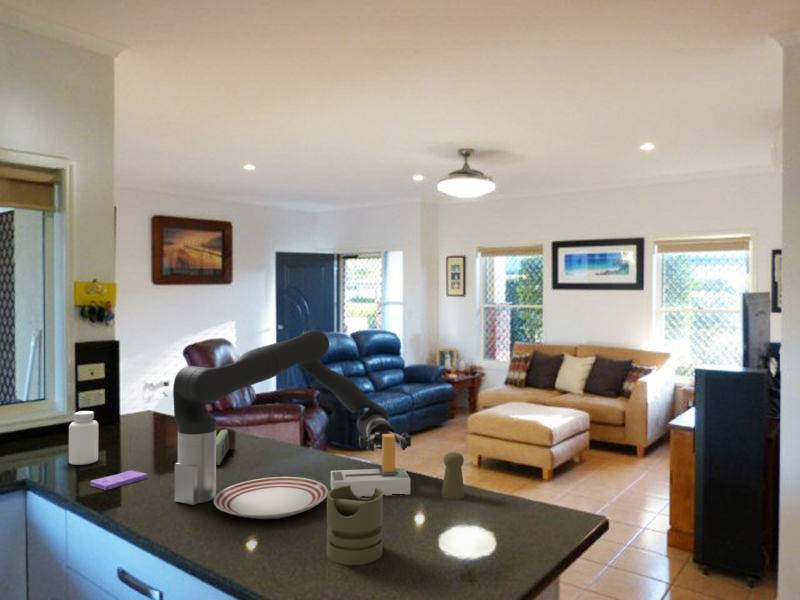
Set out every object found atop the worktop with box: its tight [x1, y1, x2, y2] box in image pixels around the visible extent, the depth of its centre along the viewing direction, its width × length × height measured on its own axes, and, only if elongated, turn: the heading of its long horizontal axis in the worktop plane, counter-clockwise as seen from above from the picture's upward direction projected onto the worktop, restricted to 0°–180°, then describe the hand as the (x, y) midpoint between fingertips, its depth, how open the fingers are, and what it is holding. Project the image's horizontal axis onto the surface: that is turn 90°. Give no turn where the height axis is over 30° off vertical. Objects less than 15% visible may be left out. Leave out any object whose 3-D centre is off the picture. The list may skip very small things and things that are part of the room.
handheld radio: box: [216, 429, 230, 466], centre depth 191 cm, size 7×3×25 cm
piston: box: [326, 485, 384, 566], centre depth 125 cm, size 11×12×11 cm
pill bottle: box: [68, 410, 99, 466], centre depth 186 cm, size 8×8×15 cm
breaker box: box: [330, 467, 411, 498], centre depth 163 cm, size 20×10×4 cm, turn 100°
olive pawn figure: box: [441, 452, 466, 501], centre depth 160 cm, size 6×6×11 cm
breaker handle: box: [378, 434, 398, 475], centre depth 164 cm, size 4×4×10 cm
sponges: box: [89, 469, 148, 491], centre depth 168 cm, size 7×13×2 cm, turn 148°
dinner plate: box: [213, 476, 329, 520], centre depth 151 cm, size 28×27×3 cm
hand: (388, 447), depth 165 cm, fingers open, 8 cm apart
